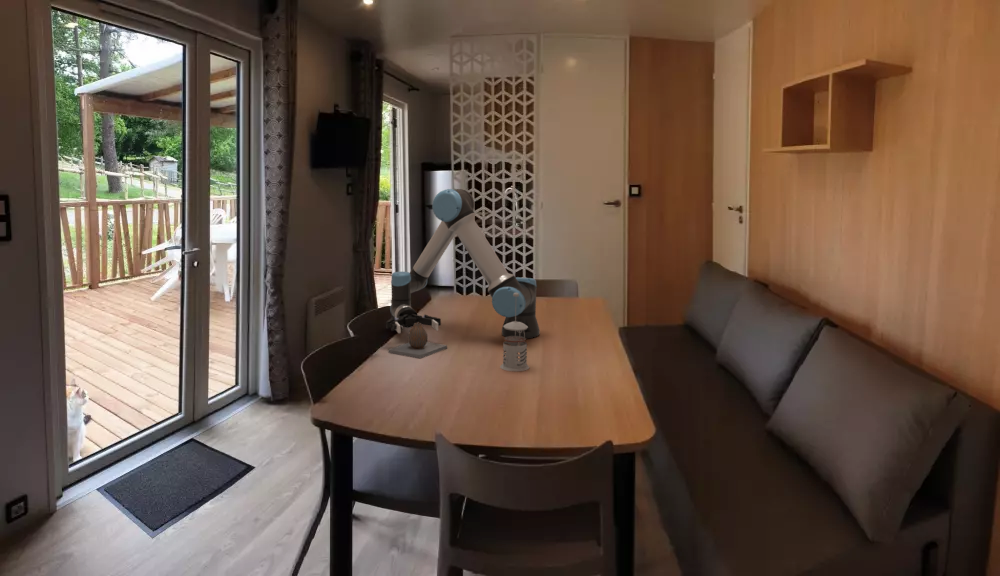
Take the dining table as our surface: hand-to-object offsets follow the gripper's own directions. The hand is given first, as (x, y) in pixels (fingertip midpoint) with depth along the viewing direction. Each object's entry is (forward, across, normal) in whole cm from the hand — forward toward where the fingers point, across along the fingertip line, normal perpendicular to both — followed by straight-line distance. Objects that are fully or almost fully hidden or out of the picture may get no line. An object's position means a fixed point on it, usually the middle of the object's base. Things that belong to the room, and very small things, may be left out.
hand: (418, 328), depth 229 cm
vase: (-2, 0, -8) cm, 8 cm away
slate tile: (-1, 0, -9) cm, 9 cm away
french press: (+27, -27, -9) cm, 39 cm away
